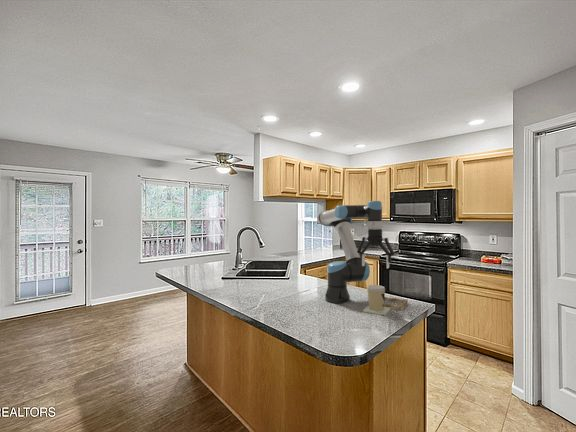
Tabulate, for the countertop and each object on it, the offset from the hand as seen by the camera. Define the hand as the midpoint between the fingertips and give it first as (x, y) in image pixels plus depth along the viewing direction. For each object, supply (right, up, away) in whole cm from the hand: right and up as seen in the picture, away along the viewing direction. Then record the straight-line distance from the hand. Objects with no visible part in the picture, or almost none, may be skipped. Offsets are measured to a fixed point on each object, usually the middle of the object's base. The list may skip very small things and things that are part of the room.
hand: (375, 267), depth 161 cm
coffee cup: (0, -23, -2) cm, 23 cm away
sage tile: (0, -23, -2) cm, 24 cm away
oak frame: (+11, -23, +7) cm, 27 cm away
